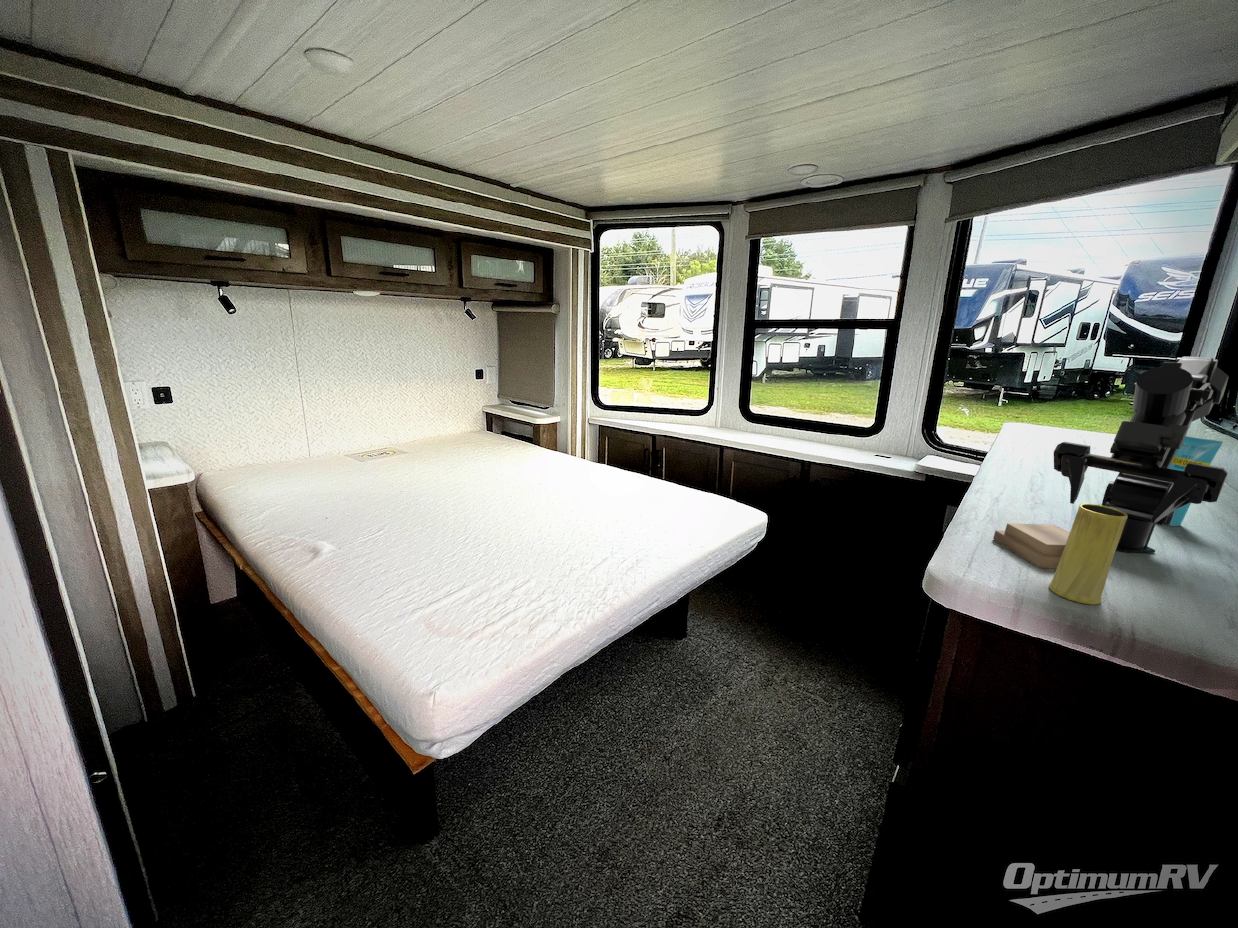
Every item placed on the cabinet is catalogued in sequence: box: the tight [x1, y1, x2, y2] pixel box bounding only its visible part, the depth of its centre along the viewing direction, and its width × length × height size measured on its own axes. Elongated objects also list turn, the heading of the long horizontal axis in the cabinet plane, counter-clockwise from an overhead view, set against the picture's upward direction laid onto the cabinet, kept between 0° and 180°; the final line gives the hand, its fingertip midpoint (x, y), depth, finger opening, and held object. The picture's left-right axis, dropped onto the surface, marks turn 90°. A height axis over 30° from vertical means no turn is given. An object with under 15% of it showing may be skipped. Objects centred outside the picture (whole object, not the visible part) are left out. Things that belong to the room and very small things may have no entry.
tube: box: [1169, 435, 1224, 527], centre depth 102 cm, size 7×5×19 cm, turn 23°
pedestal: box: [992, 522, 1070, 569], centre depth 88 cm, size 11×11×4 cm
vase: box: [1048, 503, 1128, 605], centre depth 73 cm, size 6×6×14 cm
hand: (1110, 511), depth 75 cm, fingers open, 9 cm apart
